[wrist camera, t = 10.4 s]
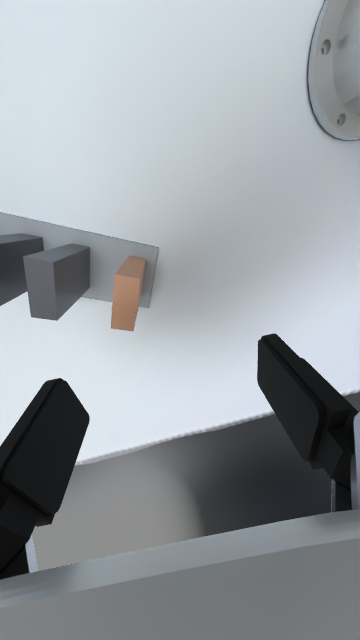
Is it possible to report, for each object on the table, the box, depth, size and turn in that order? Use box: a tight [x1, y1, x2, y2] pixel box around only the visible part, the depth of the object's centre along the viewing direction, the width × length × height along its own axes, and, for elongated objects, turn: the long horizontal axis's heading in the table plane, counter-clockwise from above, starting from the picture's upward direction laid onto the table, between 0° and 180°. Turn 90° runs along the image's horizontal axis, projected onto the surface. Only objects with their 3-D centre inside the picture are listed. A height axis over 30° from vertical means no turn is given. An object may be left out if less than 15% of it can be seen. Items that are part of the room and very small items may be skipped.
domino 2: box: [23, 243, 90, 320], centre depth 19 cm, size 2×5×9 cm, turn 167°
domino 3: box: [111, 256, 146, 331], centre depth 20 cm, size 2×5×9 cm, turn 168°
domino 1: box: [0, 233, 44, 306], centre depth 18 cm, size 2×5×9 cm, turn 167°
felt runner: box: [0, 213, 158, 308], centre depth 22 cm, size 26×8×1 cm, turn 77°
